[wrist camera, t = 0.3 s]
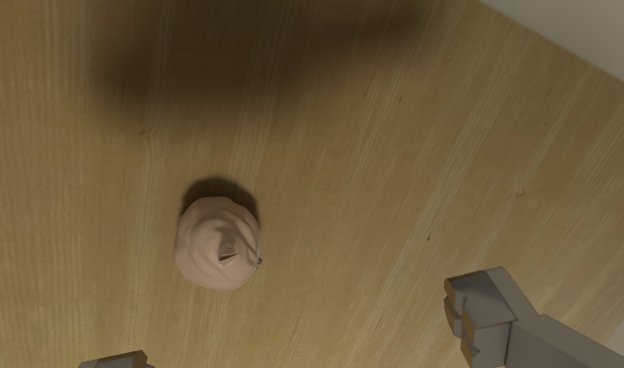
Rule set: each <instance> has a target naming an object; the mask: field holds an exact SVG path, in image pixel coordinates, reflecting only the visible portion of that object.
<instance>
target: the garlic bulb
mask: <svg viewBox="0 0 624 368" xmlns="http://www.w3.org/2000/svg"><path fill="white" fill-rule="evenodd" d="M260 249H261V240H260V235H259V232H258V224H257V221H256V219H255V217H254V216H253V215H252V214H251V213H250V212H249V211H248V210H247V209H246V208H245V207H243V206H241V205H238V204H235V203H234V202H233V201H232V200H231V199H229V198H227V197H204V198H200V199H198V200H196V201H195V202H194V203H192V204H191V205H190V206H189V208H188V209H187V210H186V211H185V213H184V214H183V215H182V217H181V219H180V221H179V223H178V230H177V233H176V237H175V245H174V254H173V257H174V262H175V264H176V266H177V268H178V269H179V271H180V272H181V274H182V275H183V276H184V277H185V278H186V279H188V280H189V281H191V282H193V283H195V284H197V285H199V286H201V287H203V288H206V289H209V290H215V291H227V292H230V291H234V290H236V289H237V288H239V287H241V286H242V285H243V284H244V283H246V282H247V281H248V280H249V279H250V277H251V276H252V274H253V273H254V272H255V271H256V270H257V269H258V267H257V264H261V263H262V259H261V257H262V254H261V252H260Z"/></svg>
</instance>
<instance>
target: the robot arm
mask: <svg viewBox="0 0 624 368" xmlns="http://www.w3.org/2000/svg"><path fill="white" fill-rule="evenodd" d="M444 289H445V291H446V293H447V296H446V298H445V299H444V309H445V313H446V318H447V320H448V323H449V326H450V328H451V330H452V332H453V334H454V335H455V336H457V337H459V338H460V339H461V351H462V353H463V355H464V357H465V359H466V361H467V363H468V365H469V367H470V368H496V367H500V366H505V368H624V356H622V355H620V354H617V353H616V352H614V351H612V350H610V349H609V348H607V347H605V346H603V345H601V344H599V343H598V342H596V341H594V340H592V339H590V338H588V337H586V336H585V335H583V334H581V333H579V332H577V331H575V330H573V329H572V328H570V327H568V326H566V325H564V324H562V323H560V322H559V321H557V320H555V319H553V318H551V317H549V316H547V315H546V314H543V315H539V314H538V313H537V312H536V310H535V309H534V307H533V306H532V305H531V303H530V302H529V301H528V299H527V298H526V296H525V295H524V294H523V292H522V291H521V289H520V288H519V287H518V285H517V284H516V283H515V281H514V280H513V278H512V277H511V276H510V274H509V273H508V271H507V270H506V269H505V268H504V267H502V266H499V267H495V268H490V269H486V270H482V271H481V270H480V271H476V272H472V273H468V274H464V275H460V276H455V277H451V278H447V279H445V281H444ZM146 362H147V356H146V355H145V353H144V352H143V351H142V350H139V351H134V352H129V353H124V354H119V355H114V356H110V357H105V358H100V359H95V360H91V361H86V362H82V363H81V364H80V365H79V367H78V368H155V367H154V366H151V365H149V364H146Z"/></svg>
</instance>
